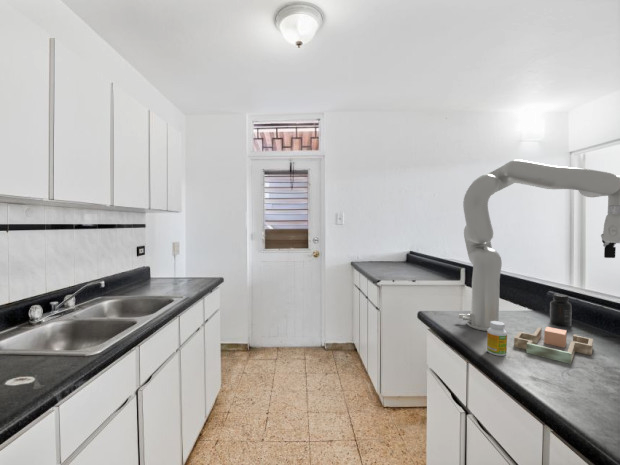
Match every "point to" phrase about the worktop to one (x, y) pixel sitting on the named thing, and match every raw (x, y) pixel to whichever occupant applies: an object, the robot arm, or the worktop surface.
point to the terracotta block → (555, 336)
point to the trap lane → (531, 340)
